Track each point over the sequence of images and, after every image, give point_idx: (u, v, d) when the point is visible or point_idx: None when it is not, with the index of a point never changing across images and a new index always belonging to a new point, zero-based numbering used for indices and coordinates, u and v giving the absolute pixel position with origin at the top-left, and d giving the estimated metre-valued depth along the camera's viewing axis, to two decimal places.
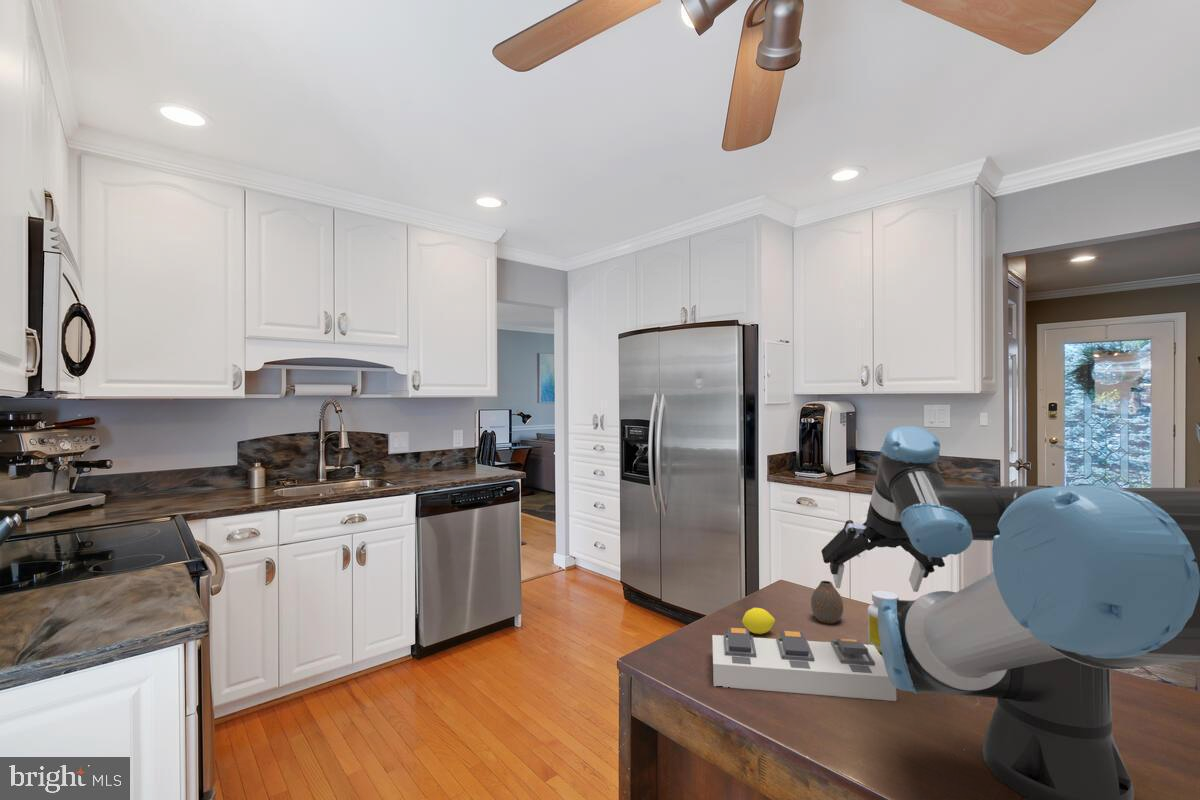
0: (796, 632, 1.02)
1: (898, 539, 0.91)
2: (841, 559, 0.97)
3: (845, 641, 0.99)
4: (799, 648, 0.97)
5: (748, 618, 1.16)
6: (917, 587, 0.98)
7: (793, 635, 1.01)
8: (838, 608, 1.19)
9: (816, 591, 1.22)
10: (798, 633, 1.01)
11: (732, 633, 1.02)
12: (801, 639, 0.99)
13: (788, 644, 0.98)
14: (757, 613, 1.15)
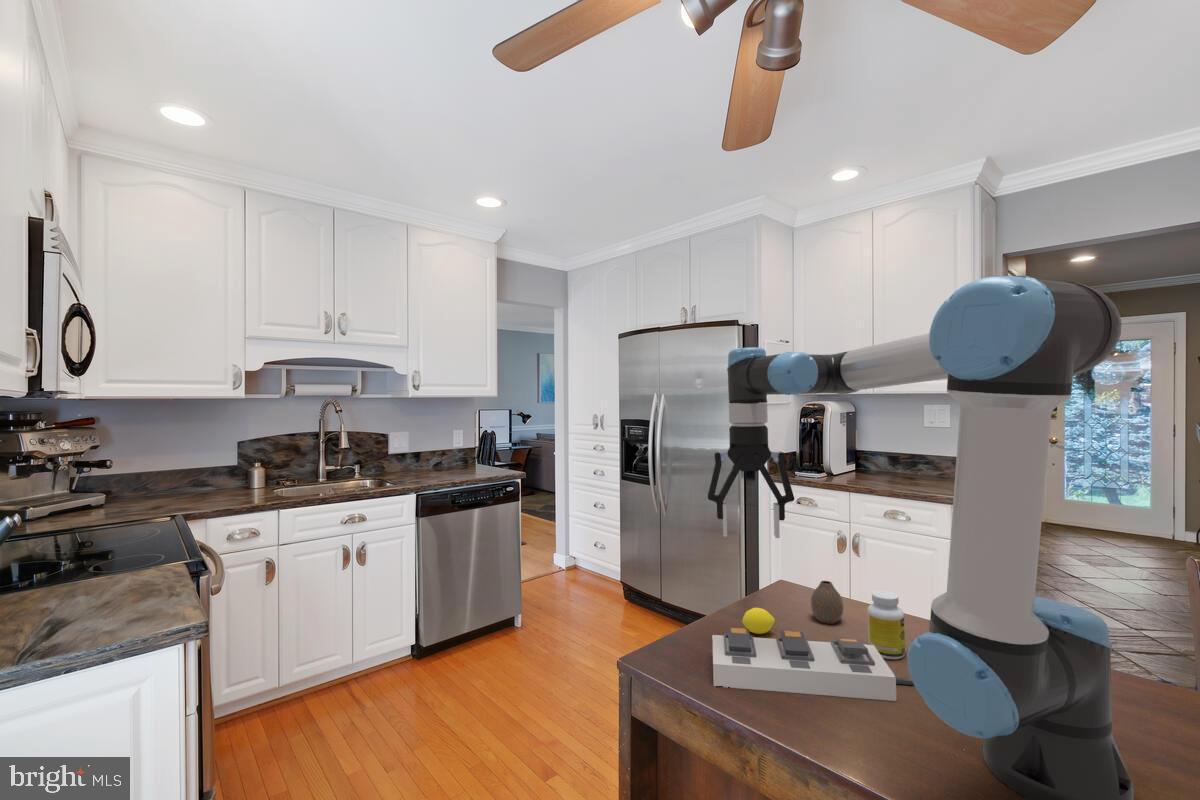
0: (796, 632, 1.02)
1: (755, 455, 1.05)
2: (721, 494, 1.07)
3: (845, 641, 0.99)
4: (799, 648, 0.97)
5: (748, 618, 1.16)
6: (777, 531, 1.05)
7: (793, 635, 1.01)
8: (838, 608, 1.19)
9: (816, 591, 1.22)
10: (798, 633, 1.01)
11: (732, 633, 1.02)
12: (801, 639, 0.99)
13: (788, 644, 0.98)
14: (757, 613, 1.15)
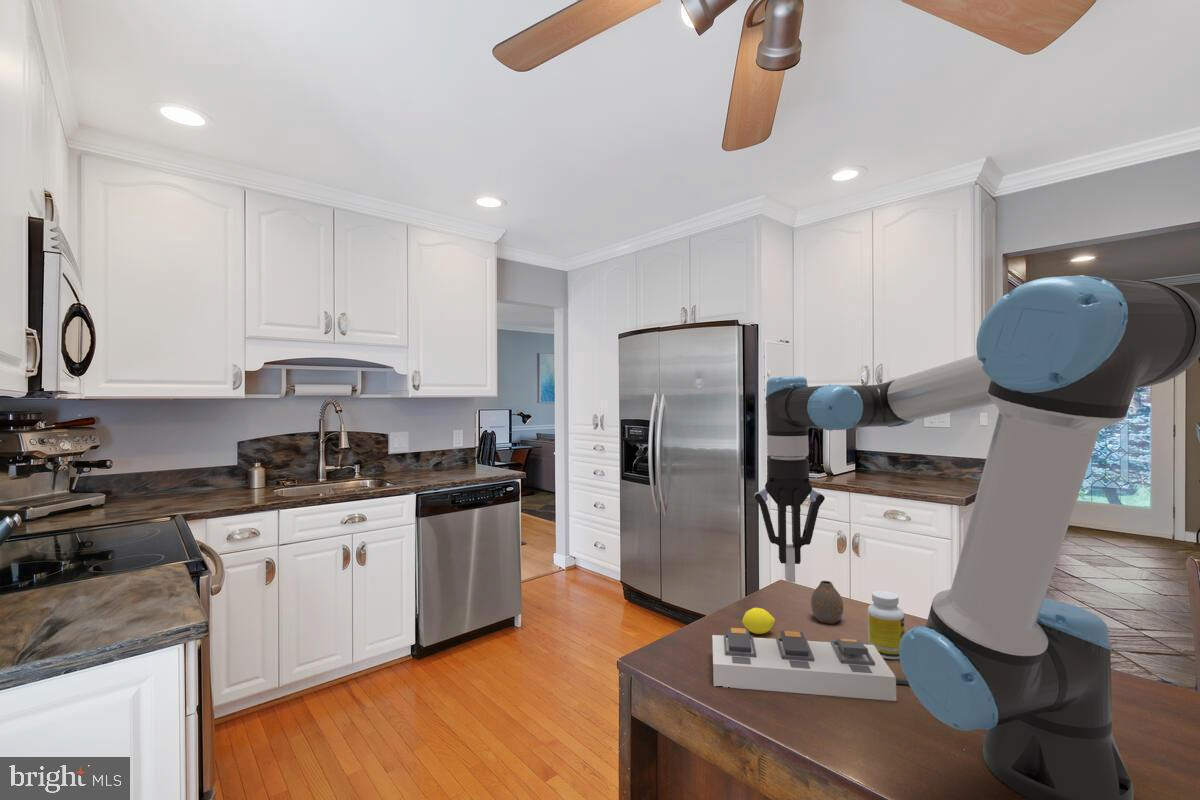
0: (796, 632, 1.02)
1: (797, 490, 1.00)
2: (781, 537, 1.01)
3: (845, 641, 0.99)
4: (799, 648, 0.97)
5: (748, 618, 1.16)
6: (793, 575, 1.00)
7: (793, 635, 1.01)
8: (838, 608, 1.19)
9: (816, 591, 1.22)
10: (798, 633, 1.01)
11: (732, 633, 1.02)
12: (801, 639, 0.99)
13: (788, 644, 0.98)
14: (757, 613, 1.15)
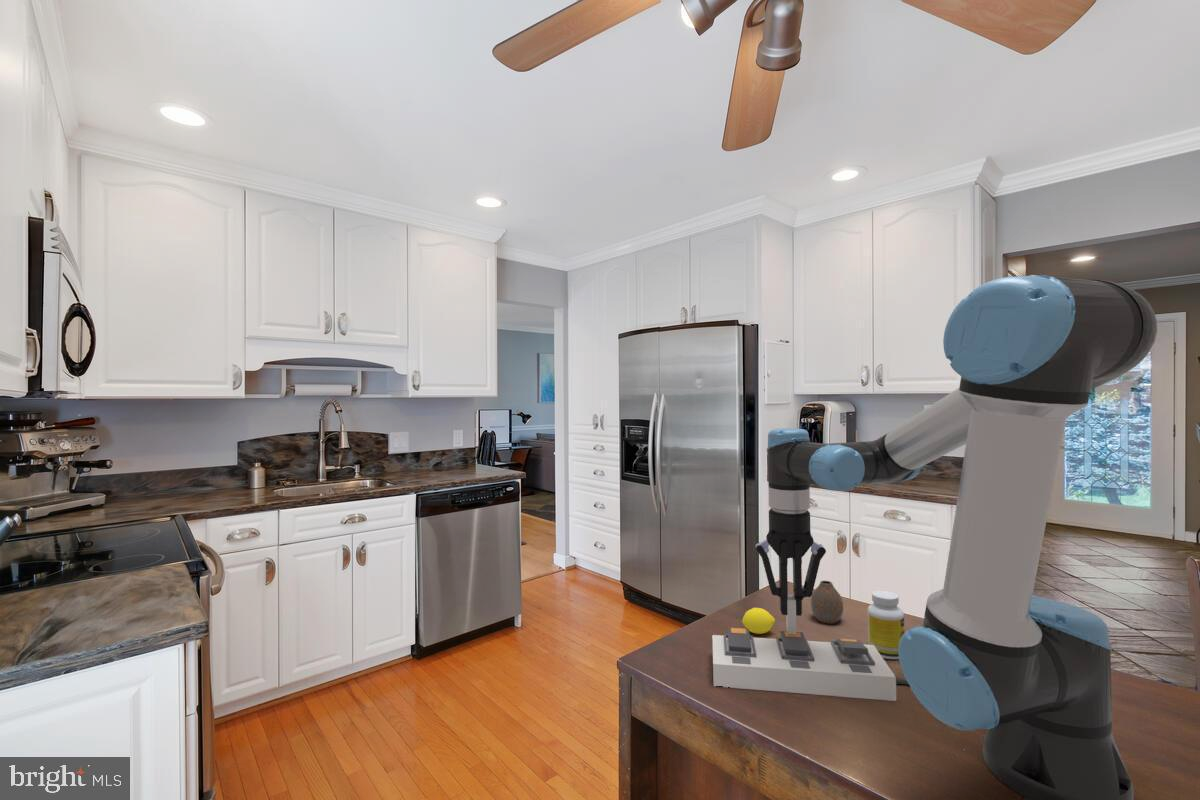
0: (796, 632, 1.02)
1: (798, 543, 1.00)
2: (782, 589, 1.01)
3: (845, 641, 0.99)
4: (799, 648, 0.97)
5: (748, 618, 1.16)
6: (794, 627, 1.01)
7: (793, 635, 1.01)
8: (838, 608, 1.19)
9: (816, 591, 1.22)
10: (798, 633, 1.01)
11: (732, 633, 1.02)
12: (801, 639, 0.99)
13: (788, 644, 0.98)
14: (757, 613, 1.15)
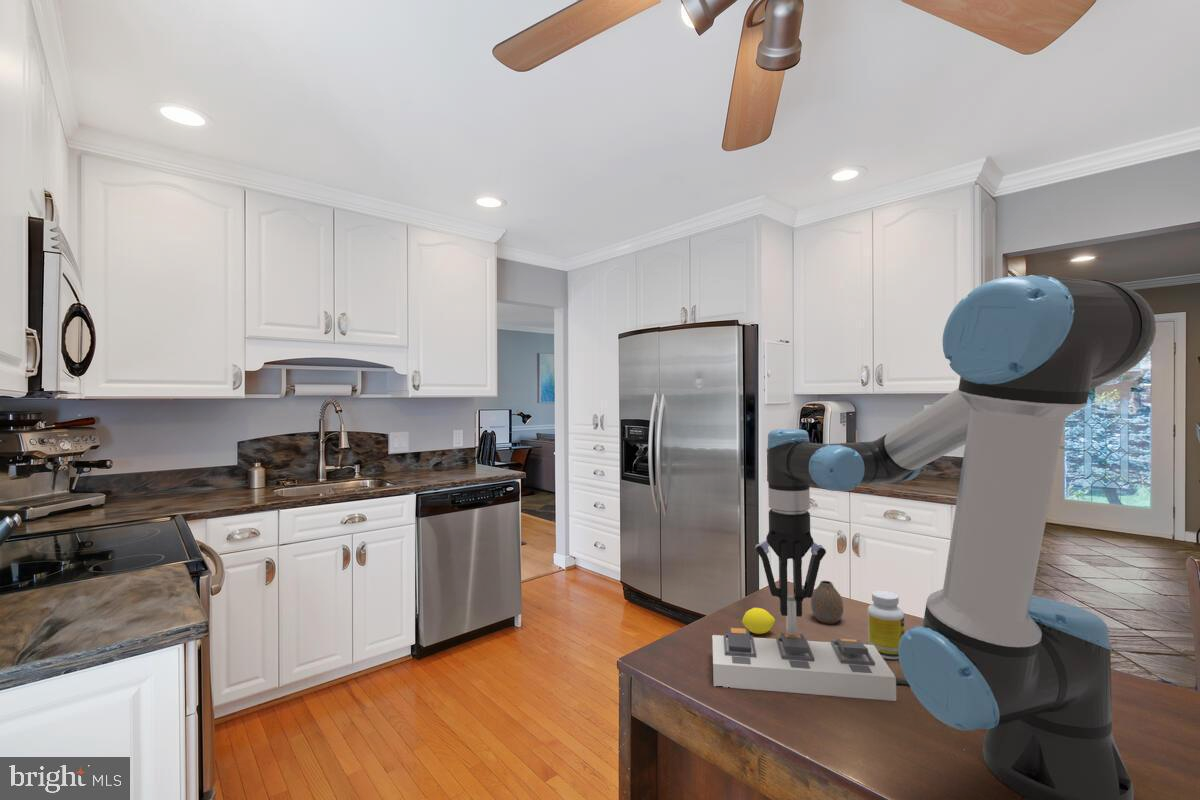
0: None
1: (798, 543, 1.00)
2: (782, 589, 1.01)
3: (845, 641, 0.99)
4: (799, 645, 0.97)
5: (748, 618, 1.16)
6: (794, 628, 1.01)
7: (793, 636, 1.01)
8: (838, 608, 1.19)
9: (816, 591, 1.22)
10: (798, 635, 1.01)
11: (732, 633, 1.02)
12: (801, 639, 1.00)
13: (788, 642, 0.98)
14: (757, 613, 1.15)
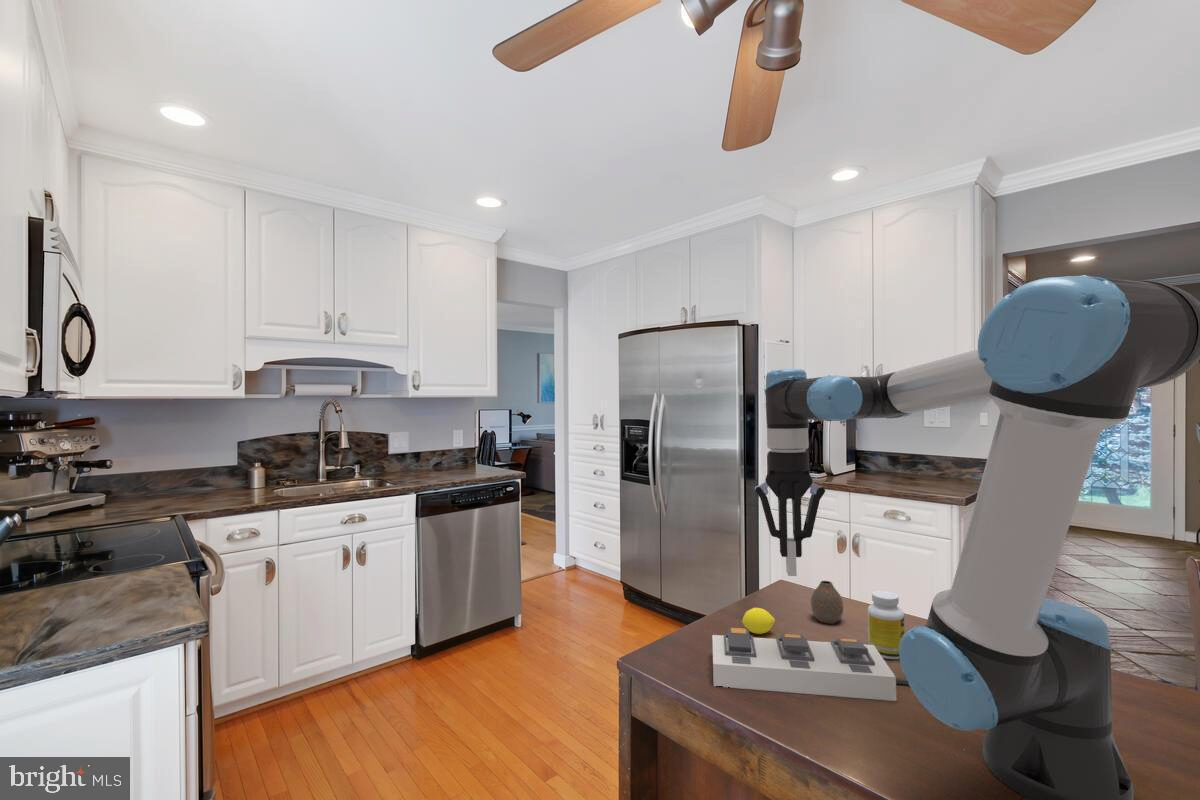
0: (796, 635, 1.02)
1: (798, 482, 0.99)
2: (781, 530, 1.01)
3: (845, 641, 0.99)
4: (799, 644, 0.97)
5: (748, 618, 1.16)
6: (794, 569, 1.00)
7: (793, 636, 1.01)
8: (838, 608, 1.19)
9: (816, 591, 1.22)
10: (798, 635, 1.01)
11: (732, 633, 1.02)
12: (801, 639, 1.00)
13: (788, 642, 0.98)
14: (757, 613, 1.15)
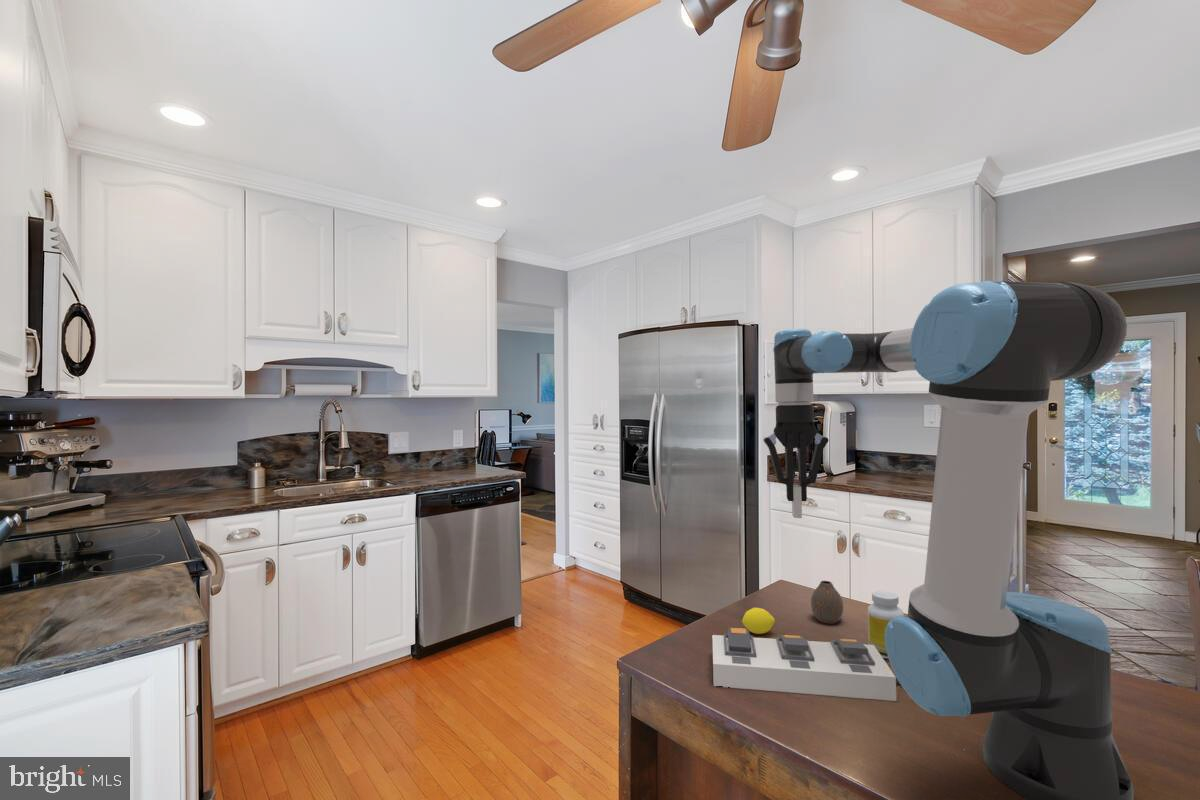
0: None
1: (803, 433, 1.09)
2: (788, 476, 1.10)
3: (845, 641, 0.99)
4: (798, 644, 0.97)
5: (748, 618, 1.16)
6: (800, 511, 1.10)
7: (793, 637, 1.01)
8: (838, 608, 1.19)
9: (816, 591, 1.22)
10: (798, 636, 1.01)
11: (732, 633, 1.02)
12: (801, 639, 1.00)
13: (788, 641, 0.98)
14: (757, 613, 1.15)
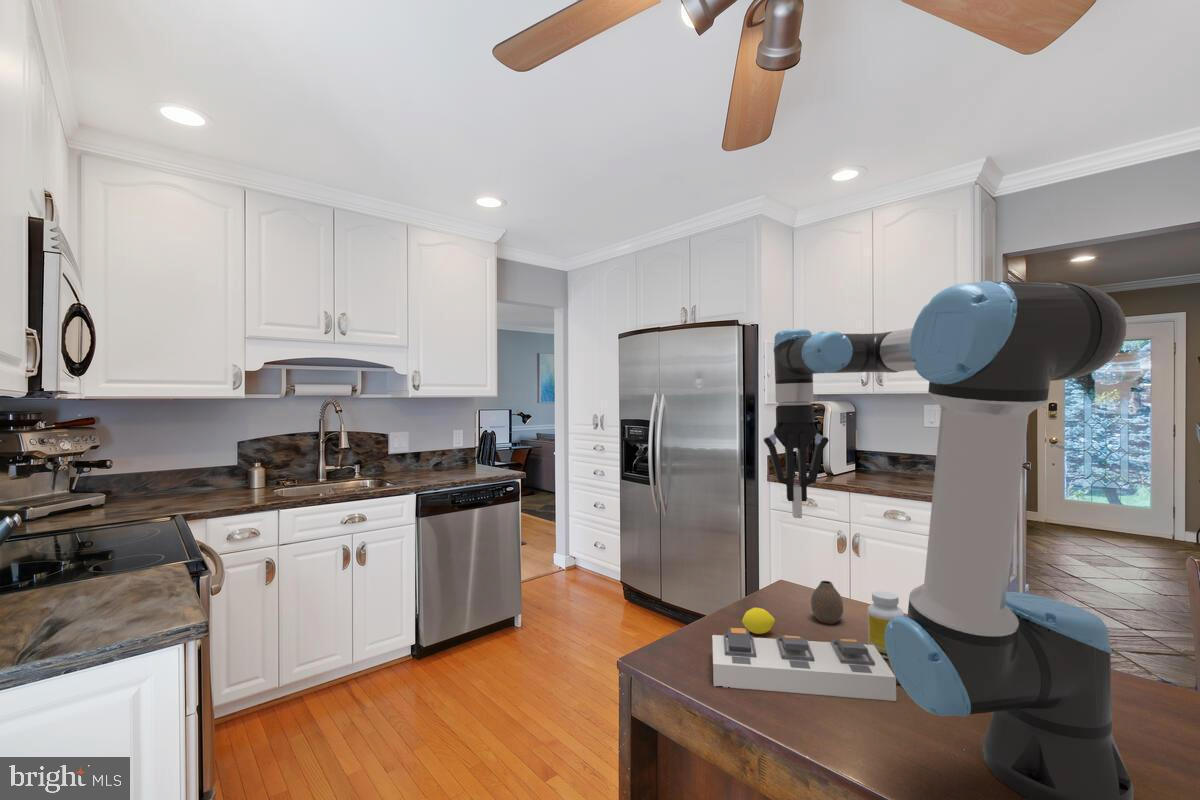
0: (796, 636, 1.02)
1: (803, 433, 1.09)
2: (788, 476, 1.10)
3: (845, 641, 0.99)
4: (798, 643, 0.97)
5: (748, 618, 1.16)
6: (800, 511, 1.10)
7: (793, 637, 1.01)
8: (838, 608, 1.19)
9: (816, 591, 1.22)
10: (798, 636, 1.01)
11: (732, 633, 1.02)
12: (801, 639, 1.00)
13: (788, 641, 0.98)
14: (757, 613, 1.15)
